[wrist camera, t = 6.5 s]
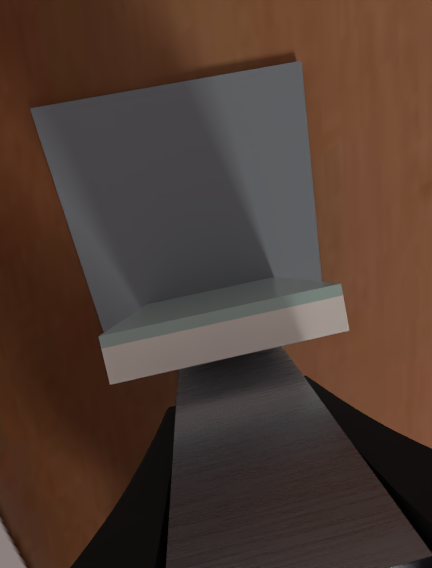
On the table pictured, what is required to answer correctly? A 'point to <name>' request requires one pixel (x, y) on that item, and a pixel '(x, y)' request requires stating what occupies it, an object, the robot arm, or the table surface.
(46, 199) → the table surface
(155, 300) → the mat
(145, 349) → the tile
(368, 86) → the table surface
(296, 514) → the block
